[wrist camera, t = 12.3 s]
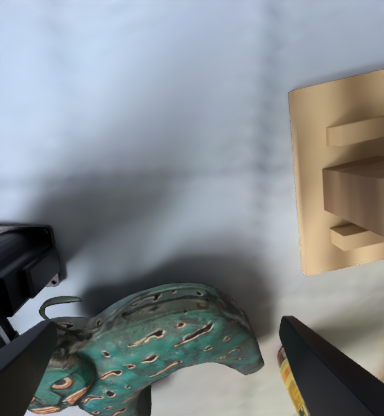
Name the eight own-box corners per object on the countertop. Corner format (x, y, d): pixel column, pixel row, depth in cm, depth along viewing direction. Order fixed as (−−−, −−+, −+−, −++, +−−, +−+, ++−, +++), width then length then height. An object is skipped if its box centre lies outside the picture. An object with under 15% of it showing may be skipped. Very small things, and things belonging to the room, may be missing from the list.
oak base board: (301, 270, 23) (319, 288, 21) (288, 92, 18) (308, 83, 15) (386, 251, 23) (415, 266, 21) (397, 67, 18) (438, 53, 15)
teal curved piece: (113, 452, 23) (-75, 387, 14) (120, 383, 29) (-9, 302, 19) (279, 380, 22) (202, 252, 12) (253, 322, 28) (186, 203, 18)
